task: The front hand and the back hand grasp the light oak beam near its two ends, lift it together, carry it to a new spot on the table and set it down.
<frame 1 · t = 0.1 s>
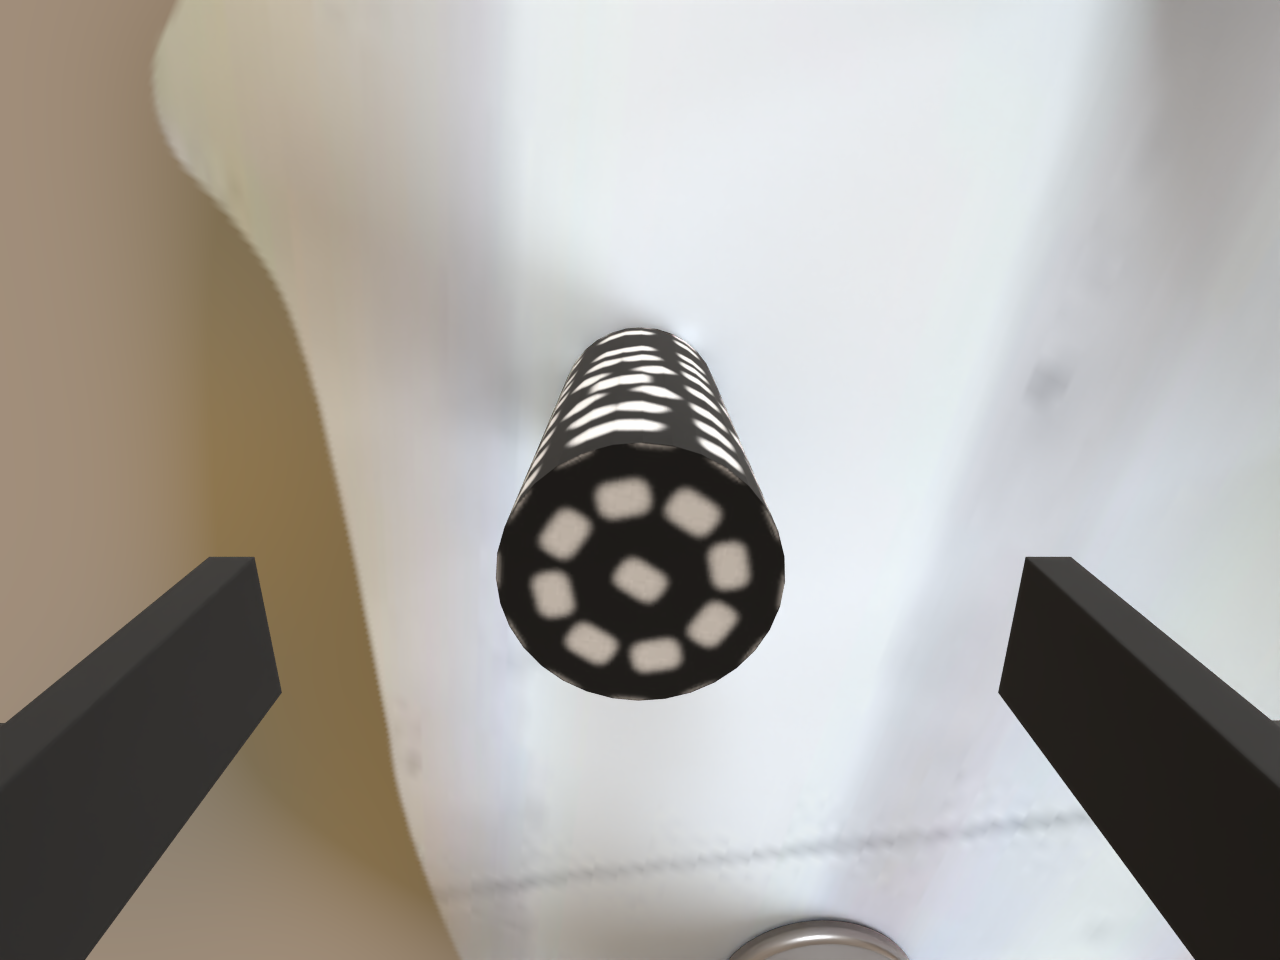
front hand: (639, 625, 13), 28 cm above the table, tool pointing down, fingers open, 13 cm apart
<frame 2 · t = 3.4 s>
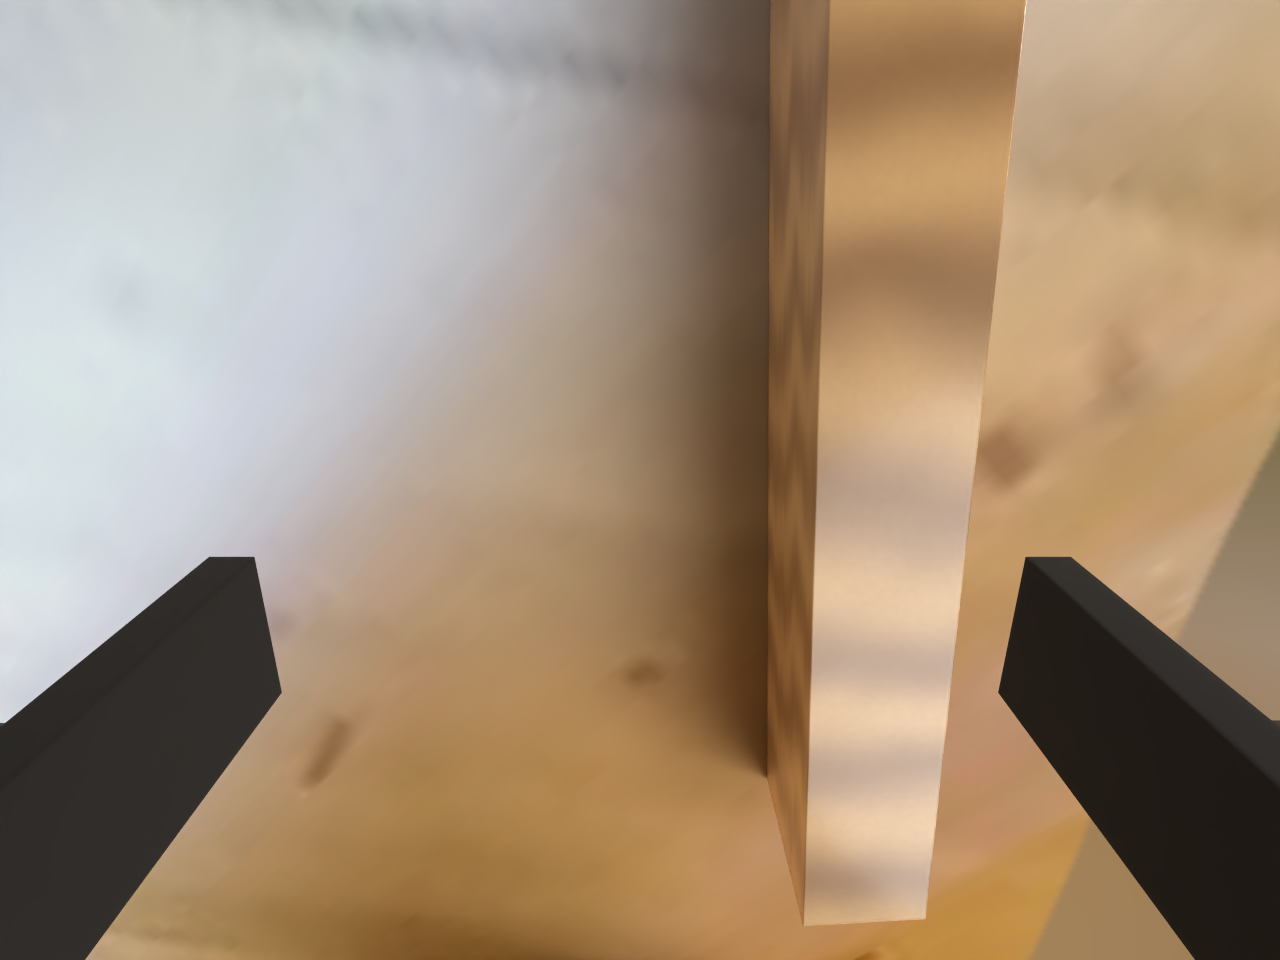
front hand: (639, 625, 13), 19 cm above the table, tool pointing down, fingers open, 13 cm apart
beam: (837, 141, 27), on the table
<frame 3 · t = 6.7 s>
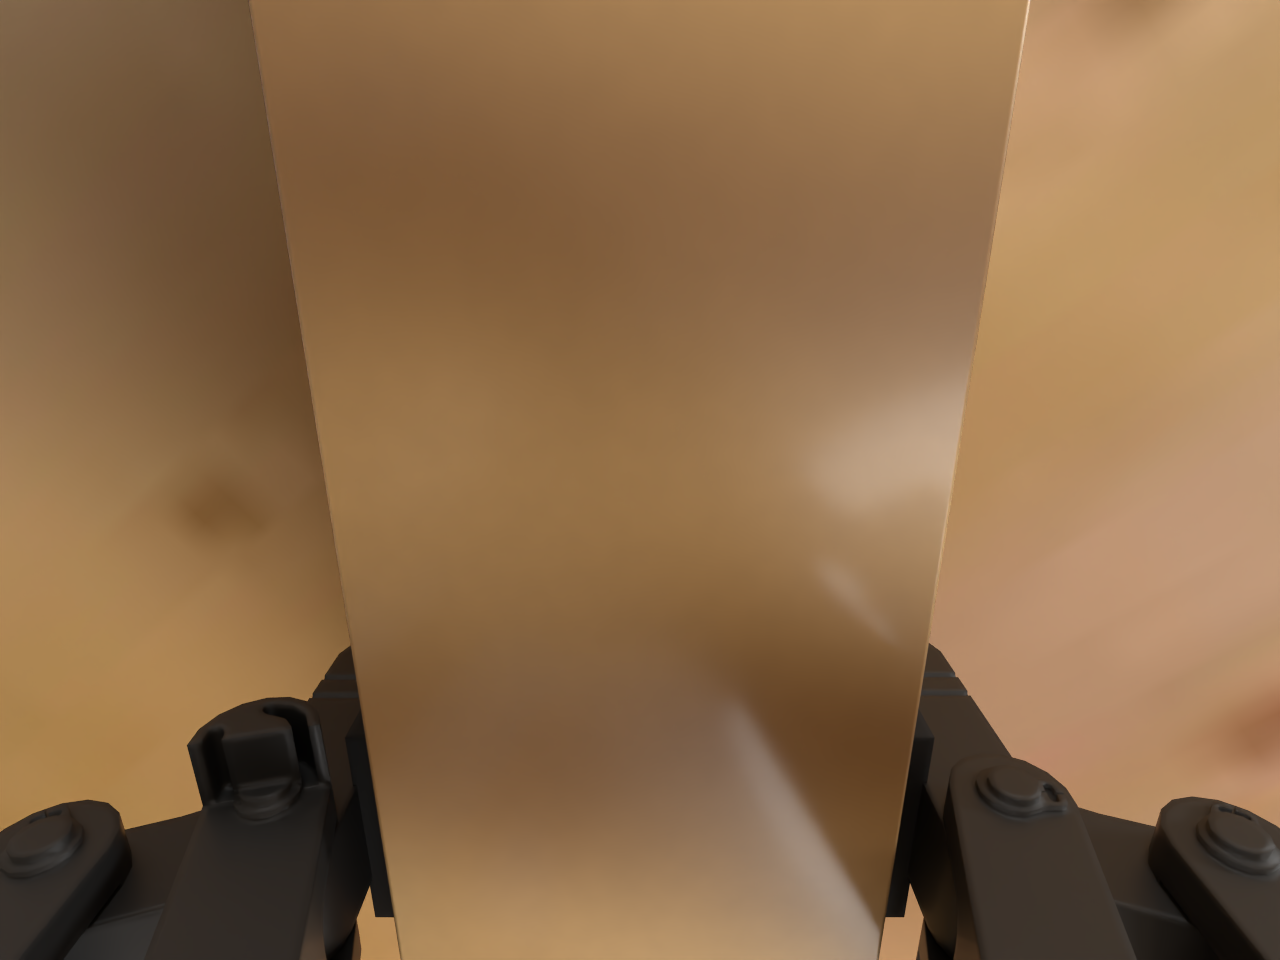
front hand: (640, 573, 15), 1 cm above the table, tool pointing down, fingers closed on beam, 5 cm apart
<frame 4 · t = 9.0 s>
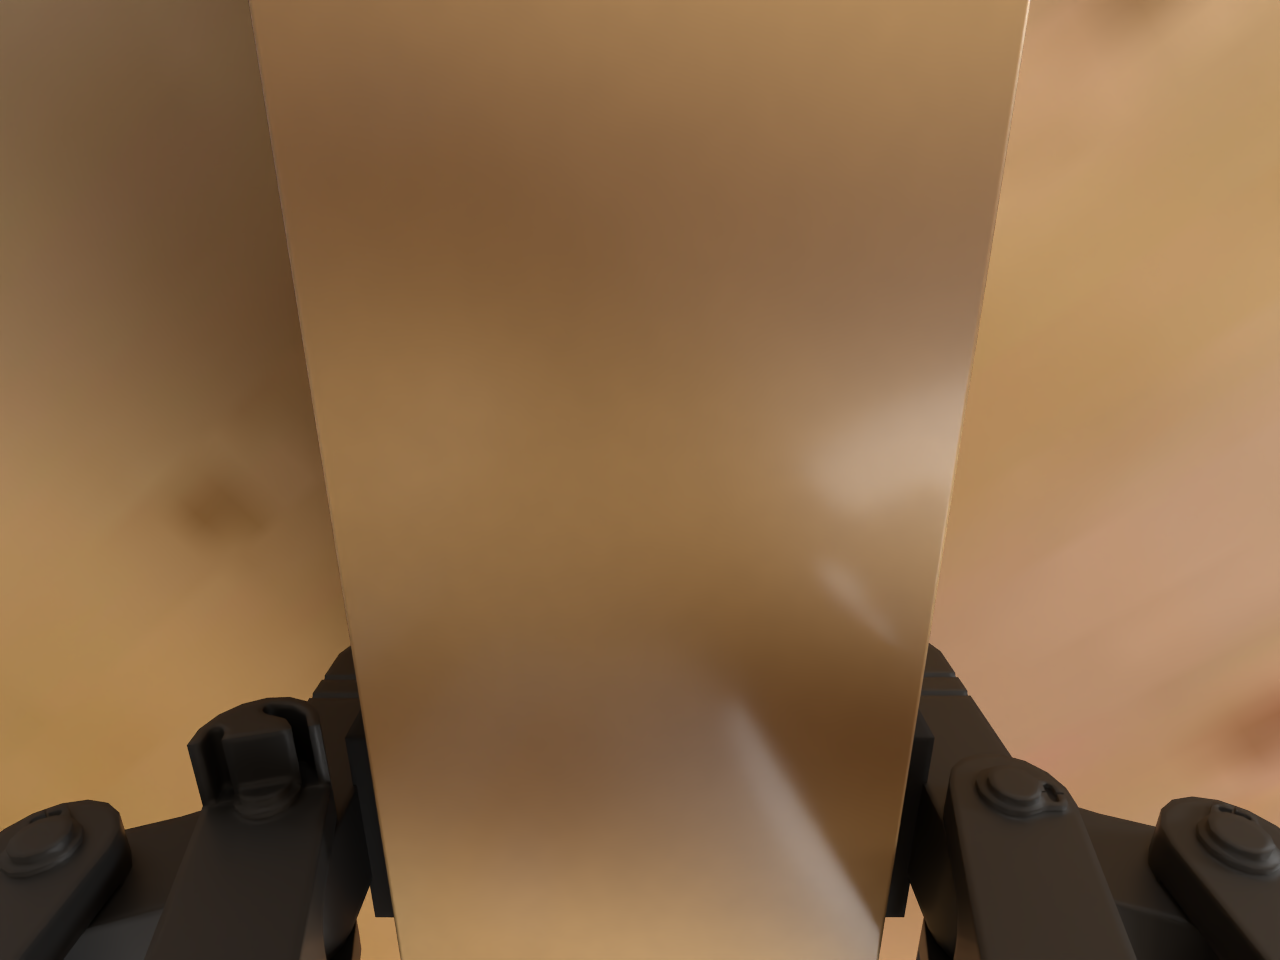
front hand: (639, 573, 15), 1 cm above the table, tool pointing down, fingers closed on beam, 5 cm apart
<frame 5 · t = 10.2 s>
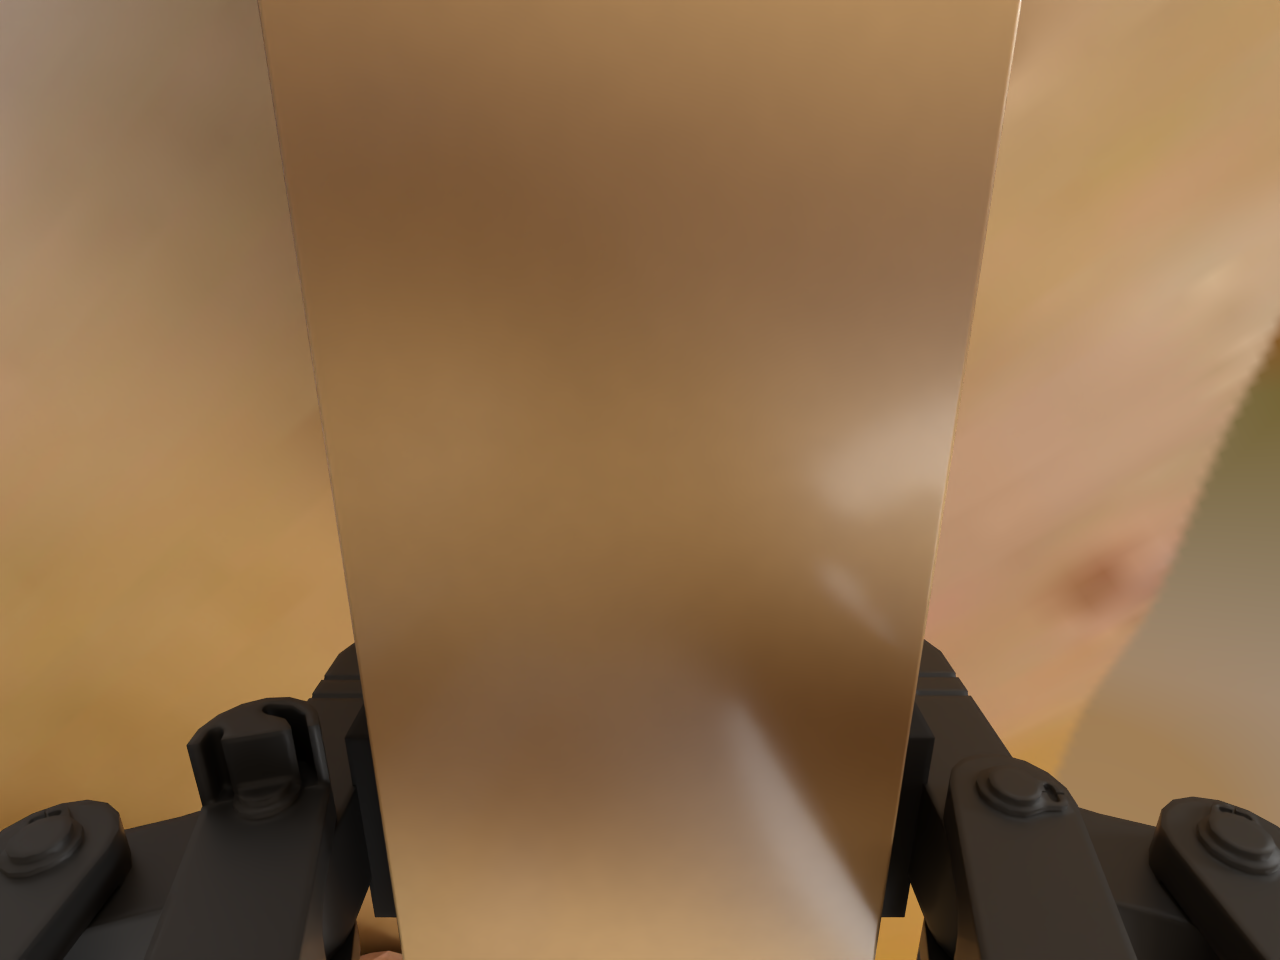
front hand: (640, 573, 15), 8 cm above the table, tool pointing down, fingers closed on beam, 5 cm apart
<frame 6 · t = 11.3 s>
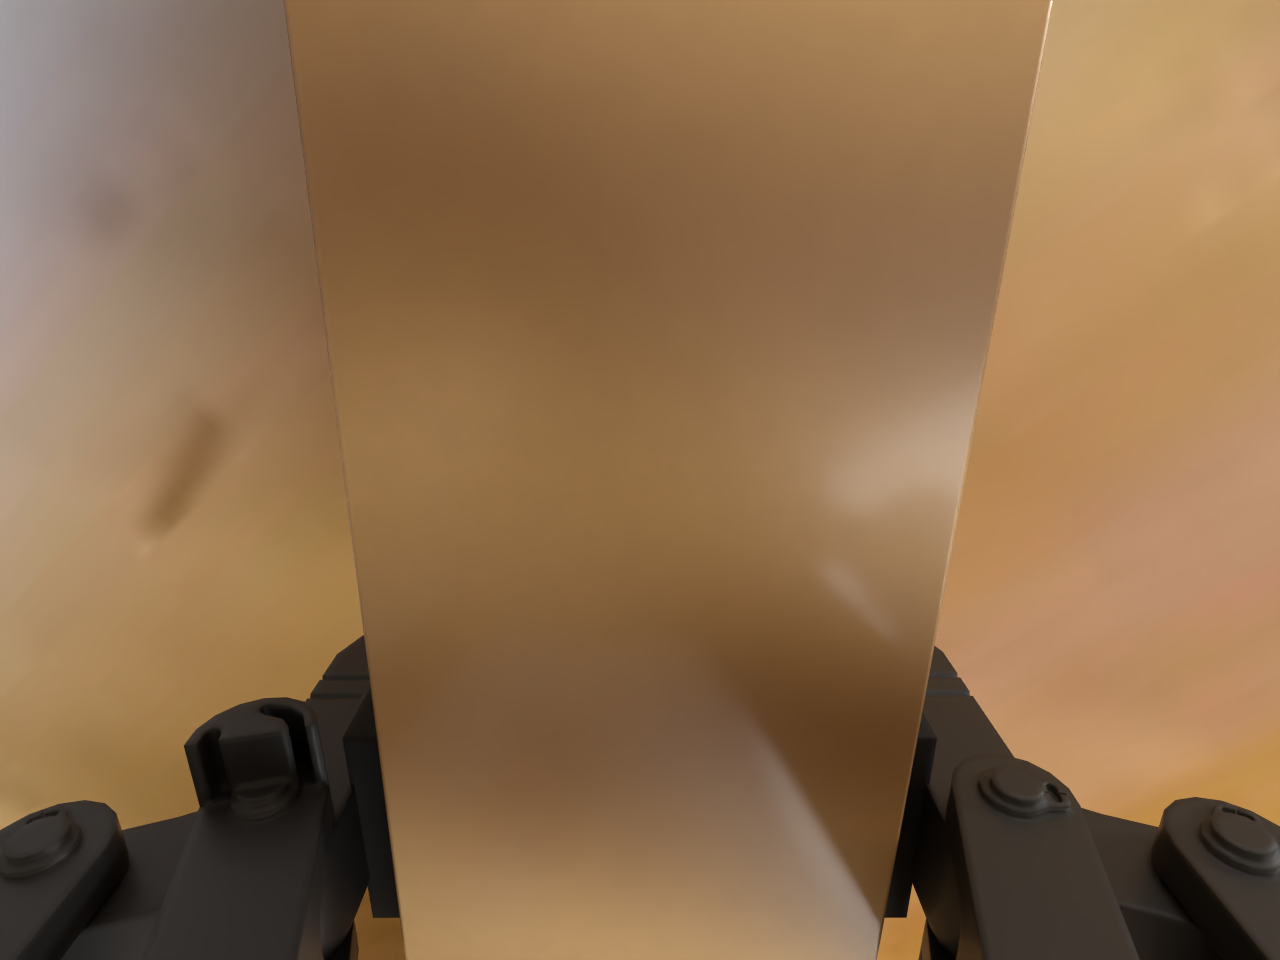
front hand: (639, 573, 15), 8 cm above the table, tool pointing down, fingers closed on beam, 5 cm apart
when the front hand's fingers open (2 cm above the table, at t = 13.9 s): beam drops 1 cm, on the table.
when the back hand's fingers open (5 cm above the table, at t = 14.1 s): beam stays where it is, on the table.
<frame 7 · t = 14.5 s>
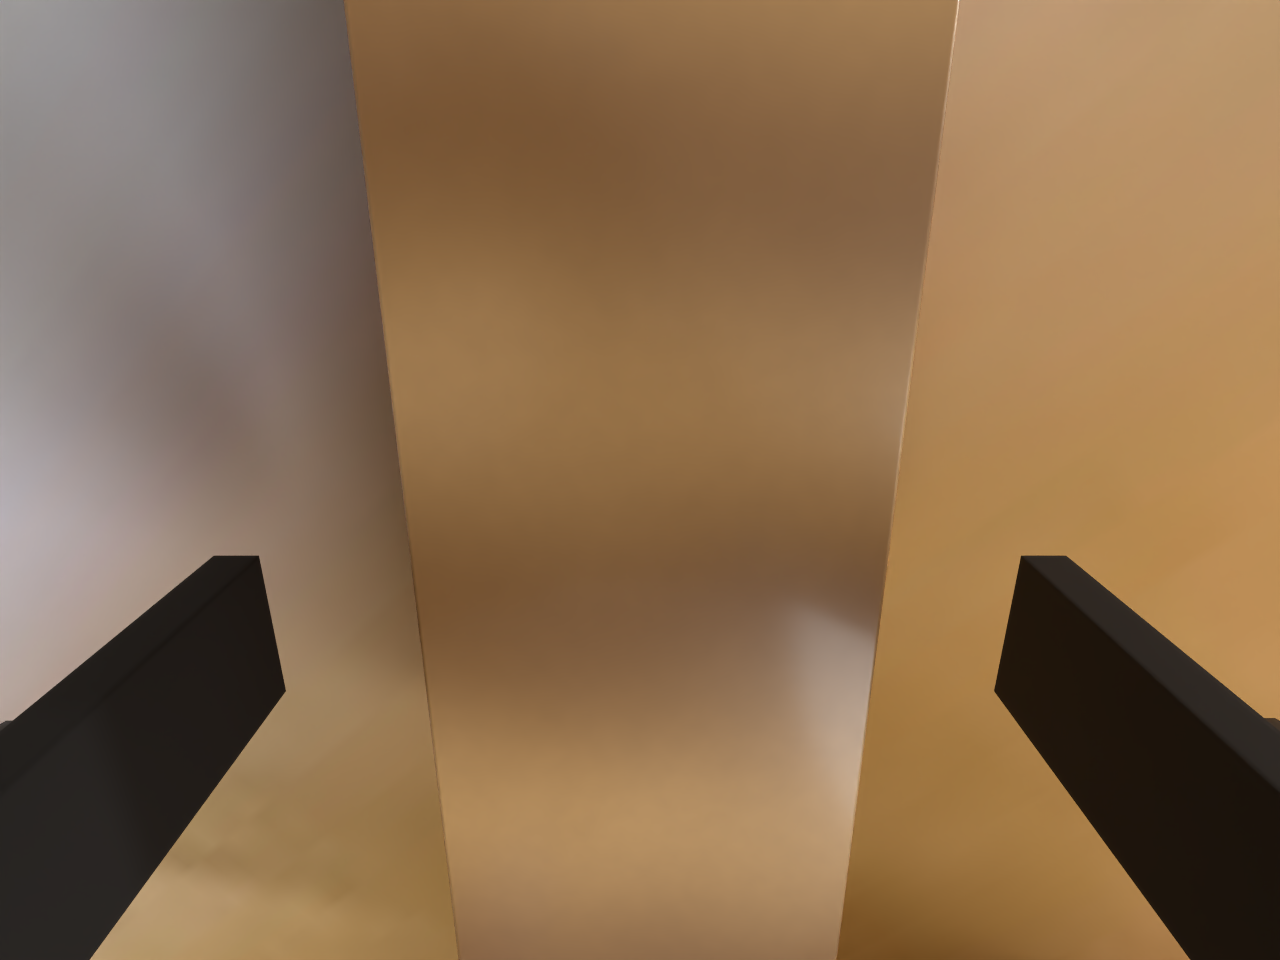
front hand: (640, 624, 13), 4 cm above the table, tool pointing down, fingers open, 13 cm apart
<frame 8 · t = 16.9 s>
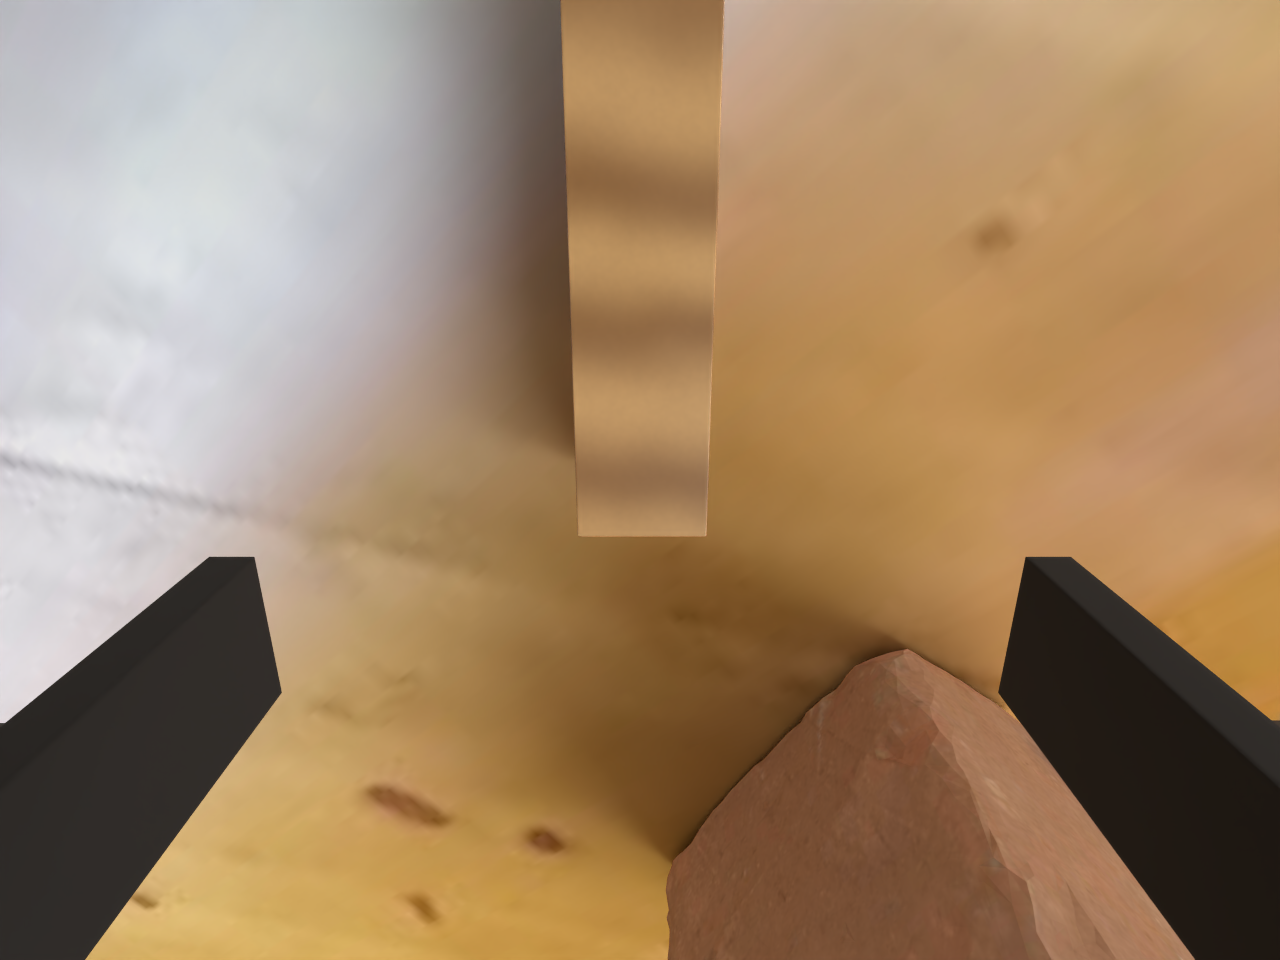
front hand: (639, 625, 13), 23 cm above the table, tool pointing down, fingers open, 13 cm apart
stone: (836, 786, 43), on the table
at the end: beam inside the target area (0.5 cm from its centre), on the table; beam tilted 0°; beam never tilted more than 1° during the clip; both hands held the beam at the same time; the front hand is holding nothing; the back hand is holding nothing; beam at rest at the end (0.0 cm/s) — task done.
